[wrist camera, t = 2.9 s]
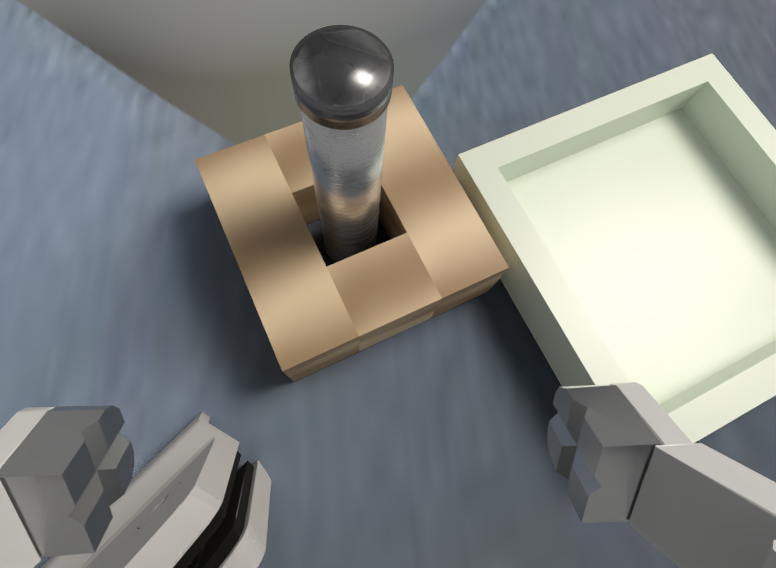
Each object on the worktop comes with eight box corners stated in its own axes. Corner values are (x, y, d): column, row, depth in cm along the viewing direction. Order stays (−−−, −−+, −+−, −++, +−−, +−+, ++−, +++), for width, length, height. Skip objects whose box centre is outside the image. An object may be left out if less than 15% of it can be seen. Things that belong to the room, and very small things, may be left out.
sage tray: (447, 186, 30) (458, 154, 26) (676, 92, 33) (712, 53, 29) (608, 466, 25) (646, 470, 22) (856, 324, 28) (922, 308, 25)
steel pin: (314, 231, 28) (273, 43, 15) (363, 211, 29) (367, 13, 15) (336, 277, 27) (314, 123, 14) (386, 256, 28) (411, 88, 15)
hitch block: (216, 197, 28) (194, 159, 25) (397, 129, 31) (402, 85, 27) (293, 382, 25) (282, 371, 22) (488, 291, 28) (509, 267, 24)
